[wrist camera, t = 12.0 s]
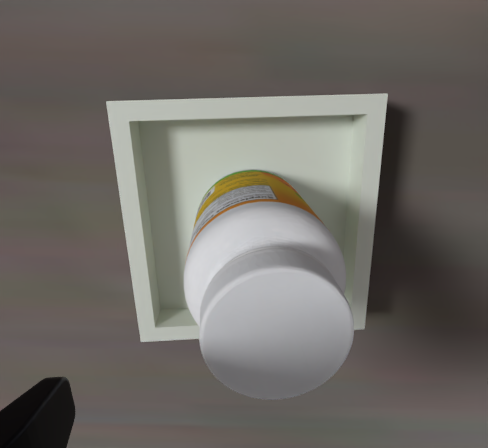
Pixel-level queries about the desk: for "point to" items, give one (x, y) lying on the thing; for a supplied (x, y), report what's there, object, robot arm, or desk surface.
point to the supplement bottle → (266, 288)
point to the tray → (234, 159)
